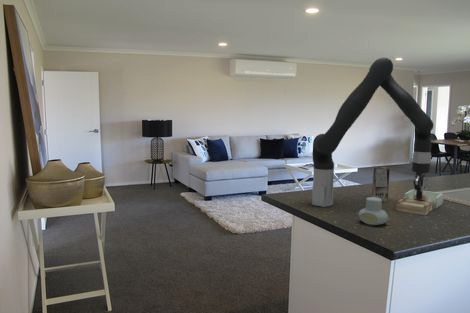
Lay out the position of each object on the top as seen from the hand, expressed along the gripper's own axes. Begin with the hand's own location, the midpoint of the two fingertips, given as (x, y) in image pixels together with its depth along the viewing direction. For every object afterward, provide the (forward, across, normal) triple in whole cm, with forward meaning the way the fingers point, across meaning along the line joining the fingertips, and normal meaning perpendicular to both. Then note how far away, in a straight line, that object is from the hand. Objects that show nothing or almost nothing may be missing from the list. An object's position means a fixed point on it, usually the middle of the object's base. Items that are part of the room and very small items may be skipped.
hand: (418, 198), depth 174 cm
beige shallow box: (+4, +5, 0) cm, 6 cm away
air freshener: (+4, +38, -7) cm, 39 cm away
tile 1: (+2, -3, 0) cm, 3 cm away
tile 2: (+1, -6, 0) cm, 6 cm away
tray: (+4, -9, 0) cm, 10 cm away
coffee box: (+4, -4, -19) cm, 20 cm away
